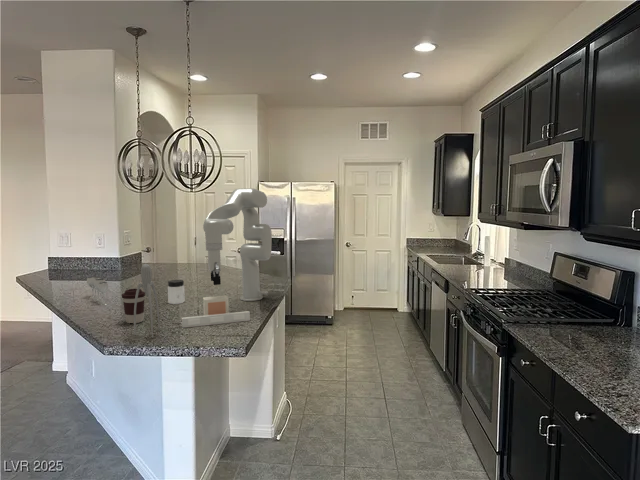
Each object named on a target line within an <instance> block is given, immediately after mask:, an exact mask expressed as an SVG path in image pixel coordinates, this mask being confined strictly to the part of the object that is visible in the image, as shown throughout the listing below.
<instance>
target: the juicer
mask: <svg viewBox="0 0 640 480" xmlns="http://www.w3.org/2000/svg"><path fill="white" fill-rule="evenodd" d="M140 277H141V278H140V279H141V280H140V281H141V282H138V284H137V288H136V289H137V291H136V296H135V304H134V323H133V333H134V335H135V336H136V335H137V330H136V329H137V323H136V305H137V298H138V294H139V290H140V289H143V292H145V296H146V297H147V299H148V306H149V307H148V308H149V315H150V317H149V318H150V327H151V328H150V329H151V338H152V339H153V338H154V330H153V329H154V327H153V326H154V325H153V323H154V322H153V304H152V302H153V301H152V292H153V295H154V298H155V306H156V311H157V312H156V314H157V322H158V331H159V332H160V331H161V324H160V323H161V322H160V321H161V320H160V310H159V309H160V308H159V301H158V295H157V290H156V287H155V283H154V281H152V277H153V274H152V267H151V266H150V265H149V264H148V263H144V264H143V265H141V268H140ZM151 289H152V290H151Z"/></svg>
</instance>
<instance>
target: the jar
mask: <svg viewBox="0 0 640 480" xmlns="http://www.w3.org/2000/svg"><path fill="white" fill-rule="evenodd" d="M185 296H186V294H185V284H184V279H172V280H171V279H170V280H168V281H167V299H168V300H167V301H168V302H167V303H168V304H171V305H178V304H183V303H184V302H186V297H185Z"/></svg>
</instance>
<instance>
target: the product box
mask: <svg viewBox="0 0 640 480" xmlns="http://www.w3.org/2000/svg"><path fill="white" fill-rule="evenodd" d="M202 300H203V301H202V304H203V306H202V307H203V308H202V309H203V316H204V315H214V314H224V313H230V306H229V303H230V302H229V296H228V295H226V294H225V295H215V296H205V297H202Z"/></svg>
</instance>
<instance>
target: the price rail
mask: <svg viewBox="0 0 640 480" xmlns="http://www.w3.org/2000/svg"><path fill="white" fill-rule="evenodd" d="M250 315H251V313H250V311H249V310H248V311H247V310H246V311H244V310H243V311H237V312H236V311H235V312H229V313H224V314H214V315H204V314H203V315H197V316H187V317H186V316H185V317H181V328H182V329H183V328H192V327H203V326H210V325H221V324H228V323H231V324H232V323H239V322H246V321H247V322H248V321H250V320H251V319H250V318H251V316H250Z"/></svg>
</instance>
